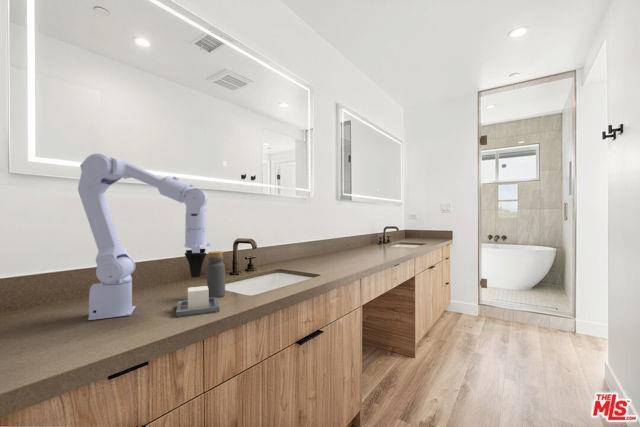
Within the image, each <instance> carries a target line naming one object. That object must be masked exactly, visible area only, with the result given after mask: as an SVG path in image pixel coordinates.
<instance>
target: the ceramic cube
mask: <svg viewBox="0 0 640 427" xmlns="http://www.w3.org/2000/svg"><path fill="white" fill-rule="evenodd" d="M209 298H210V297H209V289H208V286H207V285H203V286H191V287H187V300H188V310H189V309H197V308H206V307H209Z"/></svg>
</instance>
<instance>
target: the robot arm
mask: <svg viewBox="0 0 640 427" xmlns="http://www.w3.org/2000/svg"><path fill="white" fill-rule="evenodd" d="M79 166H80V167H79V168H80V170H81V172H80V178H79V181H78V188H77V192H78V195H79V197H80V200H81V203H82V206H83V209H84V212H85V216H86V219H87V222H88V223H89V226H90V229H91V230H90V231H91V233H92V235H93V239H94V242H95V245H96V248H97V251H98V252H97V255H96V256H95V263H96V269H95V275H96V278H97V279H98V280H99V281H100V282H99V283H93V284H92V285H91V286H90V288H89V293H88V318H87V321H93V320H102V319H111V318H117V317H118V318H120V317H128V316H131V315H132V314H133V312H134V310H135V309H136V305H133V277H132V274H133V273H134V272H135V270H136V262H135V260H134V259H133V258H132V257H131V256H130V255H129V253H128V251H127V250H128V249H127V250H126V248H125V247H124V246H123V245H122V243H121V240H120V237H119V233H118V232H117V229H116V226H115V223H114V220H113V216H112V214H111V211H110V208H109V205H108V202H107V198H106V196H105V193H106V191H108V189H109V188H110V186H111V187H112V186H113V185H114V184H115V183H117V182H118V181H120V180H122V179H124V180H125V179H132V178H133V179H135V180H137V181H140V182H142V183H145V184H147V185H150V186H151V187H152V186H153V187H155V188H157V189H158V192H159V194H160V195H162V196H164V197H167V198H169V199H172V200H173V201H176V202H178V203H180V204H182V203H184V204H185V224H184V225H185V226H184V227H185V228H184V230H185V231H184V233H185V236H184V237H185V238H184V240H185V243H184V248H188V249H186V250H185V252H184V256H185V258H186V260H187V263H188V266H189V272H190V276H191V278H192V279H194V278H200V277H201V275H202V274H201V273H202V268H203V262H204V260H205V258H206V256H207V252H206V248H205V247H209V246H211V243H210V242H209V243H208V242H207V206H206V205H207V203H208V195H207V193H205V192H204V191H203V190H201V189H198V188H195V185H193V184H188V183H186V182H184V181H183V182H182V181H180V179H179V178H178V177H176V176H172V177H171V176H166V177H163V178H162V177H160V176H158V175H156V174H154V173H151V172H149V171H147V170H145V169H142V168H140V167H138V166H136V165H134V164H132V163H129V162H127V161H124V160H120V159H118V158H113V157H109V156H107V155H104V154H101V153H92V154H89V156H86V158H85V159H84V160H83V161H82V163H81V164H80V165H79Z"/></svg>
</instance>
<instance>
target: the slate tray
mask: <svg viewBox="0 0 640 427" xmlns="http://www.w3.org/2000/svg"><path fill="white" fill-rule="evenodd" d="M219 304H220V303H219V301H218V297H214V298H210V297H209V307H206V308H197V309H189V310H188V299H187V300H180V301H178V300H177V306H176V312H175V316H176V318H182V317H189V316H197V315H203V314H204V315H205V314H212V313H219V312H220V305H219Z"/></svg>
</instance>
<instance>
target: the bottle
mask: <svg viewBox="0 0 640 427" xmlns="http://www.w3.org/2000/svg"><path fill="white" fill-rule="evenodd" d="M223 254H224V251H221V250H219V251H209V252H208V257H207V261H208V262H209V263H208V264H207V265H206V286H208V289H209V298H214V297H216V298H221V297H224V296H225V295H226V266H225V263H224V262H223V260H224V259H225V258H224V256H223Z"/></svg>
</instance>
